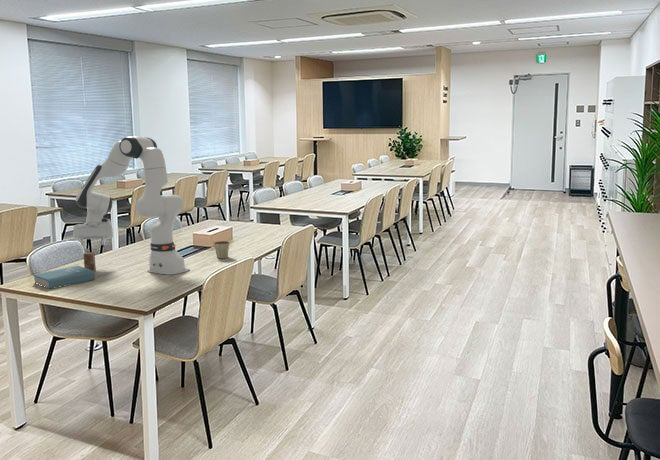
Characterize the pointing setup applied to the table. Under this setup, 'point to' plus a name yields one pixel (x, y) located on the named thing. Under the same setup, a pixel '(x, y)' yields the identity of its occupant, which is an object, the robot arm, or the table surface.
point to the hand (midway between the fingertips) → (92, 244)
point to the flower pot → (221, 249)
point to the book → (64, 276)
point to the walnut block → (89, 260)
